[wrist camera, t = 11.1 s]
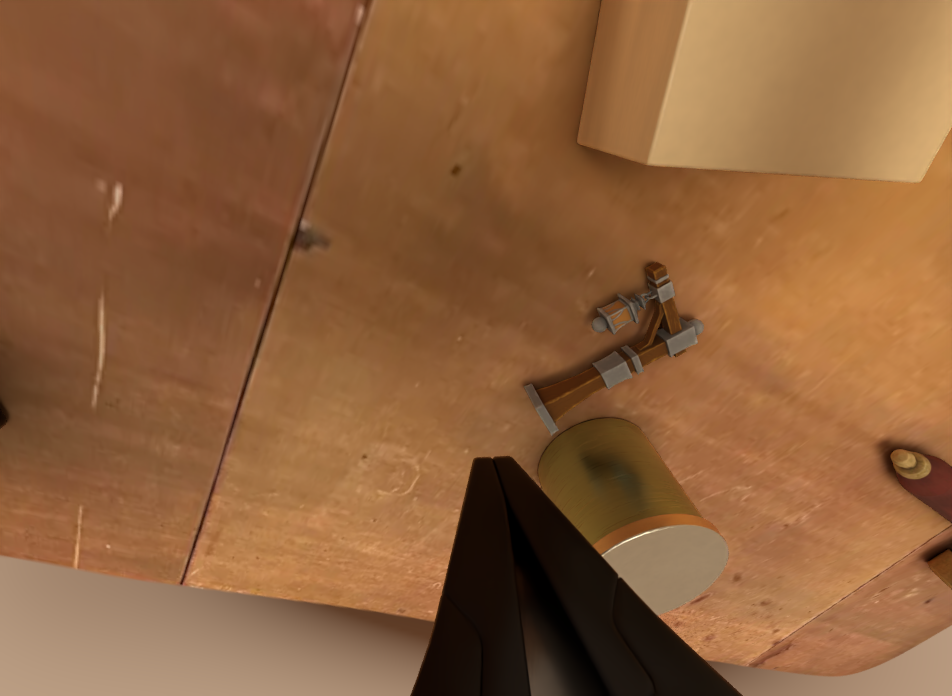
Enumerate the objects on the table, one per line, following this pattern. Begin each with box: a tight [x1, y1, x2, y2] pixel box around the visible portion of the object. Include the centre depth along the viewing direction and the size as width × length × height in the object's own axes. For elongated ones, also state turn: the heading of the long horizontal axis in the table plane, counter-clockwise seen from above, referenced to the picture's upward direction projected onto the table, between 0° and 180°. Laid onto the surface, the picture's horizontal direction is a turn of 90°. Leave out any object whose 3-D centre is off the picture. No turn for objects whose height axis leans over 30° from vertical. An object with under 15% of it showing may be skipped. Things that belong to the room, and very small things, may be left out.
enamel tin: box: [538, 418, 729, 615], centre depth 20 cm, size 6×6×6 cm
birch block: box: [577, 0, 952, 183], centre depth 12 cm, size 8×4×5 cm, turn 86°
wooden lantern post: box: [524, 262, 704, 436], centre depth 18 cm, size 2×8×4 cm
